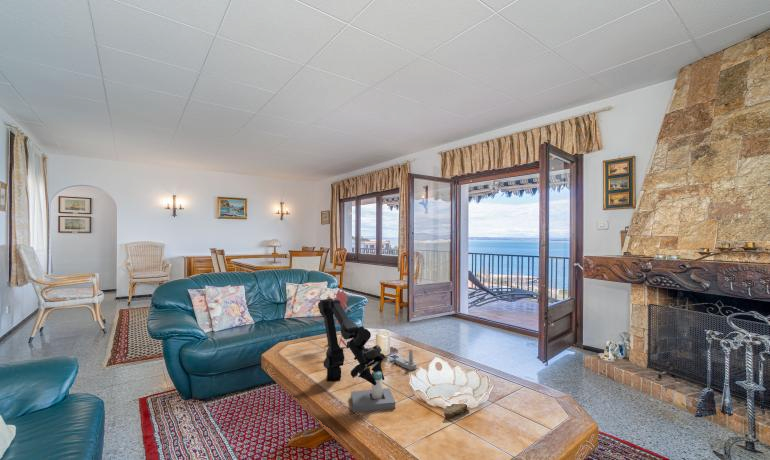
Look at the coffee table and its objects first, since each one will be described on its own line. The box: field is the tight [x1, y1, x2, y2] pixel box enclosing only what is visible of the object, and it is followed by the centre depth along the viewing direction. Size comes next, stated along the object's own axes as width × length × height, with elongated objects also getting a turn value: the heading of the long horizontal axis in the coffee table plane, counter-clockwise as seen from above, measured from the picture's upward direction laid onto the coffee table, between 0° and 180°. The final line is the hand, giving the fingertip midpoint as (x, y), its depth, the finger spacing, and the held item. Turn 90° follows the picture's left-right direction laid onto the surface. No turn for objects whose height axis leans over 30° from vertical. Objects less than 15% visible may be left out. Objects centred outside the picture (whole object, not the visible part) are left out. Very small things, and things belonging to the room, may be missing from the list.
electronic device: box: [394, 349, 417, 371], centre depth 189 cm, size 5×10×15 cm
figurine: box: [326, 289, 353, 352], centre depth 224 cm, size 15×26×35 cm, turn 46°
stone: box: [443, 404, 468, 420], centre depth 139 cm, size 14×7×5 cm, turn 144°
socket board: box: [350, 387, 396, 413], centre depth 148 cm, size 17×13×2 cm
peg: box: [371, 371, 383, 400], centre depth 148 cm, size 4×4×12 cm
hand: (379, 382), depth 148 cm, fingers open, 5 cm apart
